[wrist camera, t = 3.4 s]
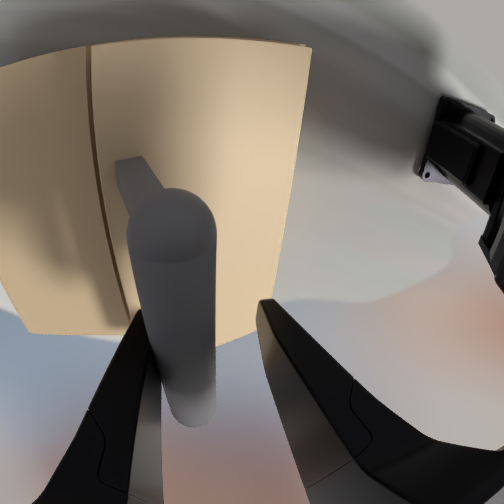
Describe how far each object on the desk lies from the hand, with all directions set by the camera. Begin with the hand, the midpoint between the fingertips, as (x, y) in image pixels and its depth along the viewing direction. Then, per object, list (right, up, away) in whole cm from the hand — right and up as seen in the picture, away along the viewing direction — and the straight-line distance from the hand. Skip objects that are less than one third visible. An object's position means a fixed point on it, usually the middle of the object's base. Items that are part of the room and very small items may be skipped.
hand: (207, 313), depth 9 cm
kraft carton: (-5, +6, +7) cm, 11 cm away
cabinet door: (-1, +2, +3) cm, 4 cm away
